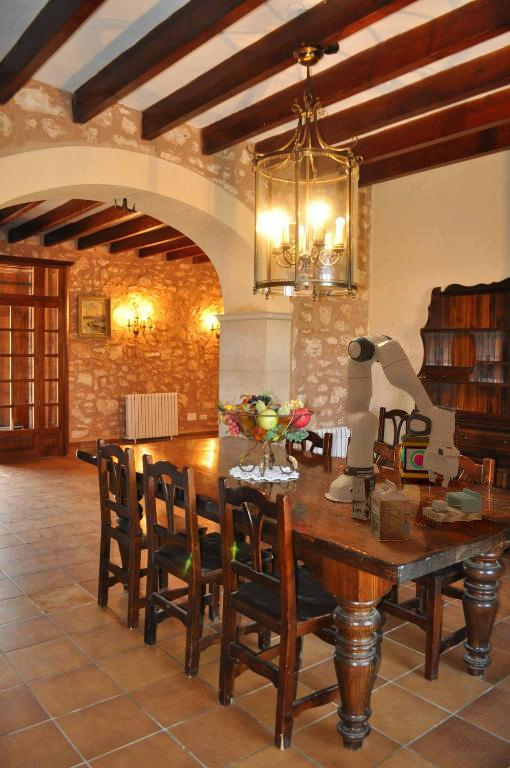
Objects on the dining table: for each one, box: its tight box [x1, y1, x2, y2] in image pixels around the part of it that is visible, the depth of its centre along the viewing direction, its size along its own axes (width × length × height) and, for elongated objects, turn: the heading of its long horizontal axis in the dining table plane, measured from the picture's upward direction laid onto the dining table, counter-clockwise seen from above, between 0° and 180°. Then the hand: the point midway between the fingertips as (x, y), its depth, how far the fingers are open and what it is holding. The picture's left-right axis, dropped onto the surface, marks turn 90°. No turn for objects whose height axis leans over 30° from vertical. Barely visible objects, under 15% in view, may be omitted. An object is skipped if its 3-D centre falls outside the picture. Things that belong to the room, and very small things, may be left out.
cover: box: [445, 488, 483, 513], centre depth 236 cm, size 8×12×6 cm, turn 13°
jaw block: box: [431, 499, 447, 513], centre depth 234 cm, size 4×4×6 cm
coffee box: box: [351, 474, 377, 521], centre depth 235 cm, size 9×6×16 cm
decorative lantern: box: [397, 431, 439, 486], centre depth 301 cm, size 20×20×30 cm
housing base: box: [422, 505, 483, 524], centre depth 235 cm, size 18×12×3 cm, turn 103°
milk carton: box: [370, 479, 411, 540], centre depth 211 cm, size 10×11×19 cm
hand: (438, 484), depth 234 cm, fingers open, 8 cm apart
